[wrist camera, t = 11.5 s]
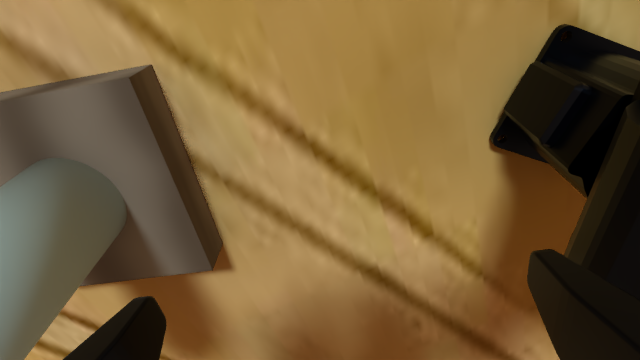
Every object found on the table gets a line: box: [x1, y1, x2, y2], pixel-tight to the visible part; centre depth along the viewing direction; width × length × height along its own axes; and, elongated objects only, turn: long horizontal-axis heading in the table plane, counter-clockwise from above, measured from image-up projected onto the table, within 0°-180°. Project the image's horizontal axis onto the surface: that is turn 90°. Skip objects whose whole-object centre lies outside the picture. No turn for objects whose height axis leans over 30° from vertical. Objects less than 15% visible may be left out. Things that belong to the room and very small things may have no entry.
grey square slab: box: [0, 65, 223, 286], centre depth 22 cm, size 12×12×2 cm
